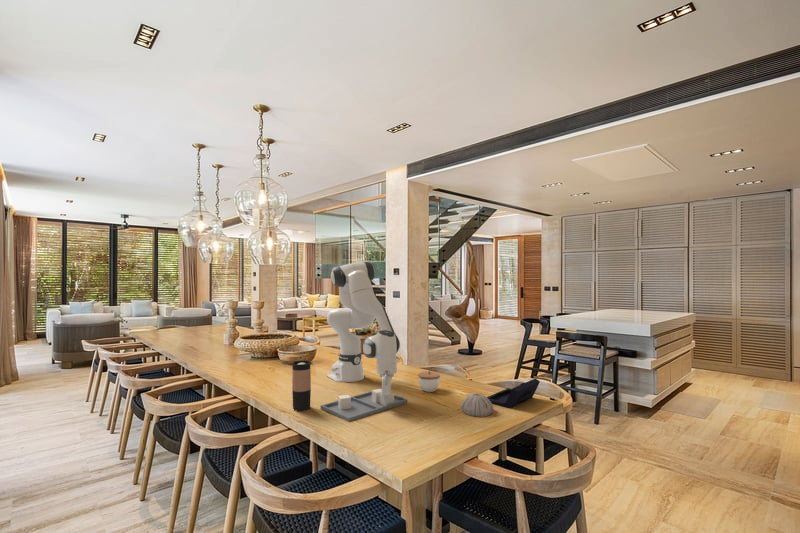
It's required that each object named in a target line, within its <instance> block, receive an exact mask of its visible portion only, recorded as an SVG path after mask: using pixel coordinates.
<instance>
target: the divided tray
mask: <svg viewBox="0 0 800 533" xmlns="http://www.w3.org/2000/svg"><path fill="white" fill-rule="evenodd" d="M350 397H351V408H349V409H342V410H341V409H340V408H339V407H338V400H335V401H330V402H328V403H325V404H321V405H320V410H321V411H322V412H325V413H328V414H330V415H332V416H335V417H338V418H339V419H341V420H344V421H346V422H349V423H350V422H352V421H354V420H355V421H356V420H358V419H362V418H364V417H368V416H372V415H375V414H377V413H381V412H383V411H387V410H390V409H393V408H397V407H400V406H403V405H406V404H408V399H407V398H405V397H402V396H400V395H396V394H394V403H391V404H388V405H385V406H384V405H381V404H380V403H375V402H374V401H372V390H371V391H367V392H363V393H360V394H359V393H358V394H356V395H352V396H350Z"/></svg>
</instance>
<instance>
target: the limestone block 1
mask: <svg viewBox="0 0 800 533" xmlns="http://www.w3.org/2000/svg"><path fill="white" fill-rule="evenodd" d="M351 397H352V396H350V395H349V394H342V395H338V396H337V401H338V407H339V408H340V409H341V410H342V409H349V408H351Z"/></svg>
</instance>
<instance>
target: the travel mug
mask: <svg viewBox="0 0 800 533" xmlns="http://www.w3.org/2000/svg"><path fill="white" fill-rule="evenodd" d="M291 369H292V372H291V373H292V380H291V382H292V383H291V384H292V387H291V388H292V392H291V393H292V410H293V409H294V410H293V411H295V410H297V411H296V412H305V411H308V410H310V409H311V390H312V387H311V386H312V383H311V378H312V377H311V361H309V360H297V361H294V362H292V368H291ZM304 410H305V411H304Z"/></svg>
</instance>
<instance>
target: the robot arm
mask: <svg viewBox="0 0 800 533" xmlns="http://www.w3.org/2000/svg"><path fill="white" fill-rule="evenodd" d="M375 274H376V271H375V267H374V265H373V264H372V263H371V262H369V261H363V262H353V263H352V262H351V263H347V264H344V265H337V266H334V267H333V268H332V269H331V273H330V280H331V283H333V286H334V287H336V288H338V293H339V296H338V297H339V302H340V303H341V304H342V305H343V306H344V307H342V308H341V307H339V308H333V309H331V310H329V311H328V313H327V316H326V321H327V322H326V323H327V324H328V326H329V327H330V328H331V329H333V330H334V331H335V333H336V334H337V336H338V338H339V346H340V353H339V354H337V357H338V360H336V361H335V363H333V364H332V365H331V368H330V369H331V370H330V372H329V373H327V374H326V376H327V377H328V378H330V379H331V380H333V381H335V383H343V382H344V383H352V382H353V383H354V382H360V381H362V380H364V378H365V373H364V367H363V366H364V363H363V360H362V357H363V356H362V353H363V355H364V356H365V357H366V358H369V359H376V374H378V375H379V377H380V378H381V389H382V396H384V403H385V404H388V403H389V396H390V395H391V393H392V392H391V390H392V379H393V377H395V374H397V372H398V368H397V367H398V363H397V361H398V360H397V357H396V356H397V353H398V352H399V351H400V347H401V344H400V340H399V337H398V335H397V333H396V332H395V330H394V328H393V326H392V324H391V320H390V318H389V316H388V313H387V310H386V309H385V306H384V304H383V302H380V300H378V298H377V296H376V295H375V292H374V289H373V285H372V281H373V280H374V278H375ZM375 320H376V321H377V324H378V327H379V329H380V330H379V331H377V333H376V334H374V335H371V336H368V337H365V338H364V340H362V342H361V338H360V336H358V335H356V334H354V333H352V332H351V331H350V329H363V328H364V329H365V328H368V327H371V326H372V325H373V323H374V321H375Z"/></svg>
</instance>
